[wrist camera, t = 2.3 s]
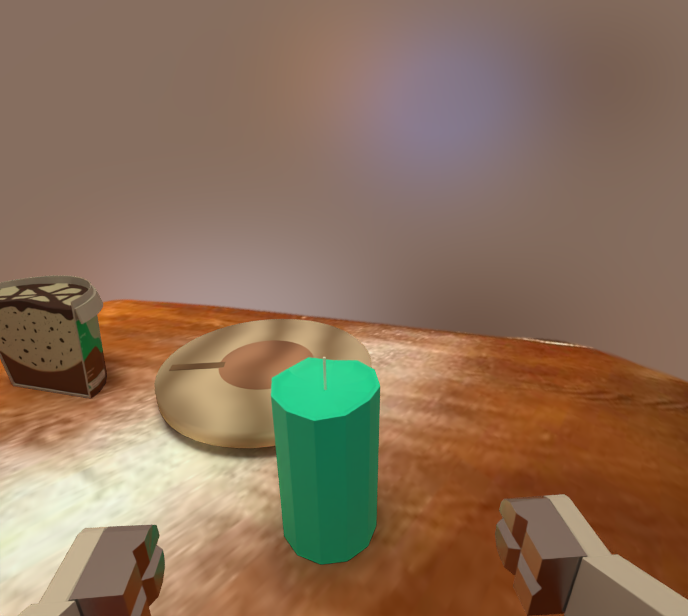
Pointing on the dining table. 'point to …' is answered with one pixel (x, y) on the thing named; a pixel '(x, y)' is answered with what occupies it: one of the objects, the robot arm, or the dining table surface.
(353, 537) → the candle
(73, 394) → the food container
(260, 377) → the turntable
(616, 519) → the dining table surface
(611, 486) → the dining table surface
